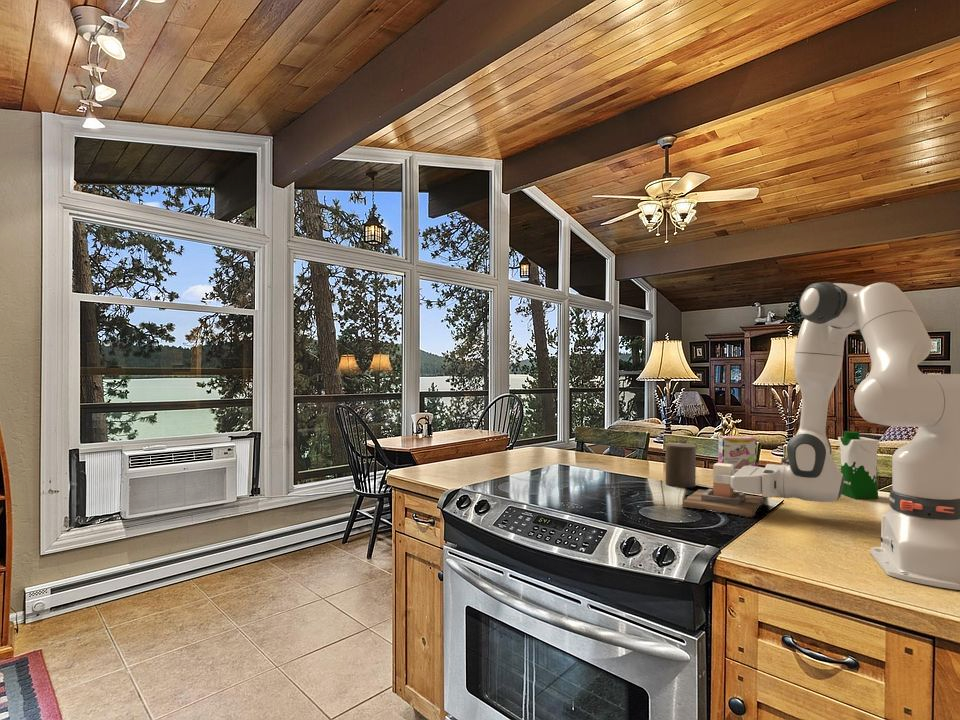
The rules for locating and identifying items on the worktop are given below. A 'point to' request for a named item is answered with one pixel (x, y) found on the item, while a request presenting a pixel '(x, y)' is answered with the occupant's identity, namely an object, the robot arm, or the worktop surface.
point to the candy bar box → (737, 451)
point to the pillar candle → (680, 464)
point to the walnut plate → (724, 502)
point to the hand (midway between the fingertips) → (719, 474)
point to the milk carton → (859, 465)
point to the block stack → (721, 487)
